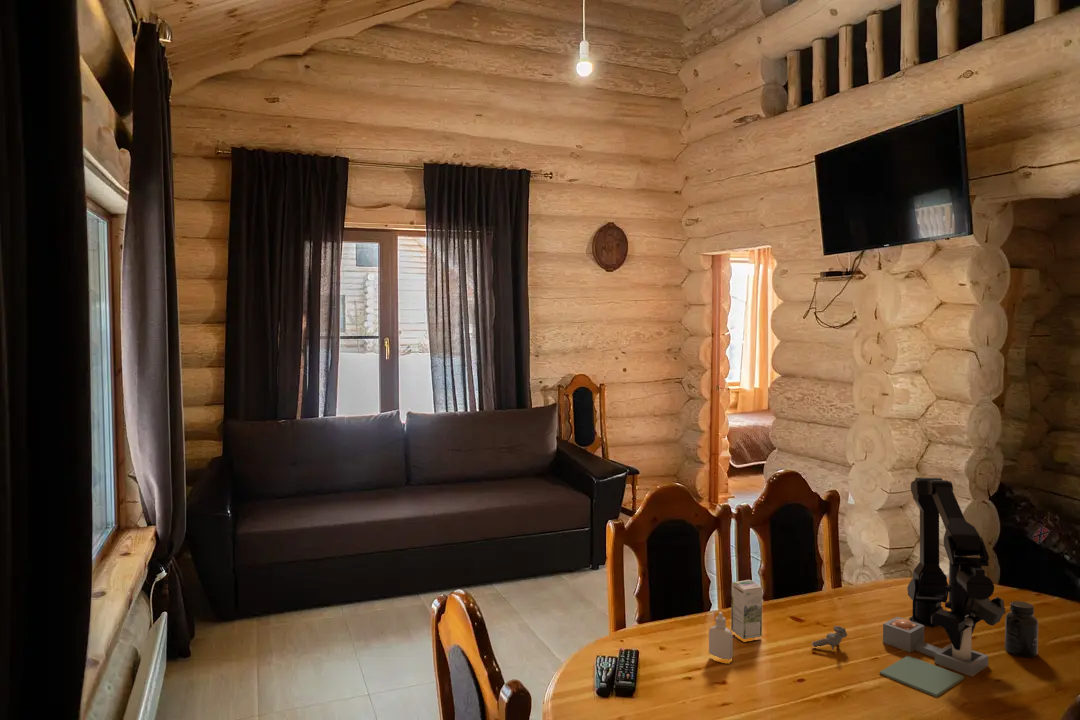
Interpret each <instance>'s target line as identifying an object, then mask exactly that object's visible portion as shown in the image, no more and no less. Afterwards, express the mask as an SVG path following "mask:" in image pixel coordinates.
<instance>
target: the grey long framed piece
mask: <svg viewBox="0 0 1080 720" xmlns="http://www.w3.org/2000/svg"><path fill="white" fill-rule="evenodd" d="M896 619H904V618H903V617H899V616H895V617H894V618H891V619H889V620H888V621H886V622H884V623H882V643H883V644H885V643H886V644H885V645H888V646H890V645H891V647H893V646H894V648H896V647H897V648H896V649H899V648H900V649H899V650H901V649H903V650H902V651H904V650H905V651H904V652H907V651H908V652H907V653H910V652H911V651H912V652H914V651H915V650H916V651H915V652H917V651H919V652H918V653H920V652H921V653H920V654H923V653H924V654H923V655H926V656H929V657H931V658H934V664H936V665H938V666H940V667H941V666H942V667H945V668H947V669H950V670H951V671H955V672H958V673H959V674H960V673H961V674H963V675H966V676H969V677H971V676H972V677H974V676H975V675H977V674H978V673H979V672H981V671H983V670H984V669H986V668H988V666H989V655H988V654H984V653H982V652H979V651H976V650H972V649H971V663H967V662H964V661H961V660H959V659H956V658H953V657H952V642H951V643H949V644H947V645H946V646H944V647H943V648H941V647H939V646H935V645H932V644H930V643H927V642H925V625H924V624H920V623H917V622H914V621H911V620H910V621H911V622H912V623H913V624H915V625H917V626H916V627H914V628H913V629H911V630H909V631H908V630H905V629H902V628H899V627H896V626H893V625H891V623H893V622H895V620H896ZM913 650H914V651H913ZM912 652H911V653H912ZM985 667H986V668H985ZM976 673H977V674H976Z"/></svg>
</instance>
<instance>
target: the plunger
mask: <svg viewBox="0 0 1080 720" xmlns="http://www.w3.org/2000/svg"><path fill="white" fill-rule="evenodd" d="M912 622H913V621H912ZM912 622H911V620H909V619H906V618H903V619H896V620H895V622H893V623H891V625H893V626H896V627H899V628H902V629H905V630H908V631H909V630H911V629H913V628H914V627H916V626H917V625H915V624H913V623H912Z"/></svg>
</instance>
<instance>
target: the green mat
mask: <svg viewBox="0 0 1080 720" xmlns="http://www.w3.org/2000/svg"><path fill="white" fill-rule="evenodd" d="M880 674H882V675H881V676H883V675H884V676H883V677H885V676H886V678H888V679H890V678H891V680H893V681H895V680H896V681H895V682H898V683H900V684H903V685H905V684H906V686H908V687H910V688H913V689H916V690H918V691H920V692H923V693H925V694H928V695H931V696H933V697H935V698H937V697H939V696H940V695H942V694H943V693H945V692H947V691H948V690H949V689H951V688H953V687H955V685H957V684H958V683H960V682H961V681H963V680H964V679H965V676H964V675H962V674H960V673H957V672H954V671H953V670H948V669H946V668H943V667H941V666H939V665H935V664H932V663H929V662H927V661H924V660H922V659H919V658H917V657H913V656H911V655H906V656H904V657H903V658H901V659H899V660H897V661H896V662H894V663H892V664H890V665H888V666H887V667H884V669H882V670H880V671H879V675H880Z"/></svg>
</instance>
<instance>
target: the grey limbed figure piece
mask: <svg viewBox="0 0 1080 720" xmlns="http://www.w3.org/2000/svg"><path fill="white" fill-rule="evenodd" d="M833 625H834V626H833V631H834V632H835V633H834V632H830V633H828V634H826V637H825V638H820V639H818V640H815V641H811V646H812V645H813V646H814V647H817V646H820V647H824V646H827V645H829V646H831V648H832V649H831V651H832V650H833V651H834V648H835V647H836V646H837V645H839V644H841V642H842V640H843V639H844V638H847V636H848V632H847V630H846V628H844V627H842V626H839V625H837V626H836V624H833ZM813 646H812V647H813Z"/></svg>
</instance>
